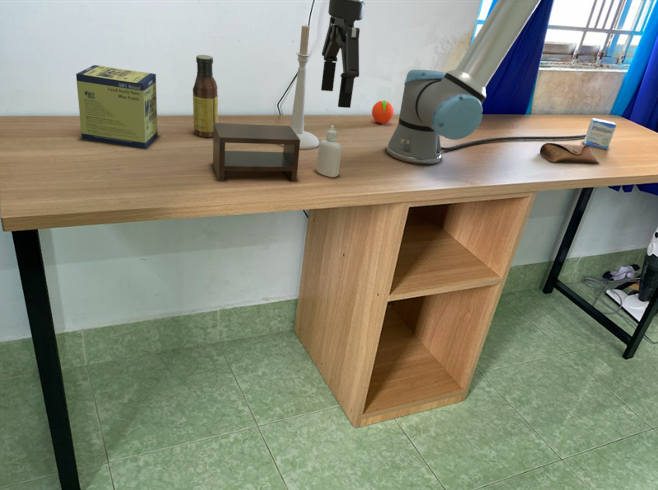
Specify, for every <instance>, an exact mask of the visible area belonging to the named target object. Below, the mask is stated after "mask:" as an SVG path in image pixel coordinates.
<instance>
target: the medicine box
mask: <svg viewBox="0 0 658 490" xmlns="http://www.w3.org/2000/svg"><path fill="white" fill-rule="evenodd" d="M616 127H617V123H616V122H614V121H610V120H605V119H599V118H595V117H591V118H590V122H589V125H588V128H587V131H586V133H585V135H586V136H585V137H584V138H583V139H584V140H583V144H584V145H589V148H597V149H601V150H606V151H608V149H609V147H610V144H611V142H612V139H613V136H614V133H615V130H616Z"/></svg>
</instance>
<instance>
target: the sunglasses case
mask: <svg viewBox="0 0 658 490" xmlns="http://www.w3.org/2000/svg"><path fill="white" fill-rule="evenodd" d="M539 154H540V156H541V157H543V158H544V159H545V160H547V161H549V162H551V163H569V164H586V165H587V164H589V165H590V164H600V162H599V161H598V160H597V157H596V155H594V153H593V151H592V150H591V147H590V146H589V145H585V144H584V145H583V144H570V143H569V144H566V143H556V142H546V143H544V144H542V145H541V147H540V148H539Z"/></svg>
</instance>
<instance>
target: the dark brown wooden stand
mask: <svg viewBox="0 0 658 490" xmlns="http://www.w3.org/2000/svg"><path fill="white" fill-rule="evenodd" d="M226 144H253V145H254V144H255V145H279V144H284V146H283V148H282V149H283V151H252V150H251V151H249V150H248V151H247V150H226ZM299 148H300V139H299V138H298V136H297V135H296V134H295V132H294V131H293V129H292V128H291V125H274V124H251V123H250V124H249V123H248V124H247V123H227V122H221V123H220V122H218V123H213V137H212V166H213V169H214V171H215V174H216V177H217V180H218V181H222V182H223V181H225V171H251V172H252V171H253V172H254V171H255V172H256V171H257V172H259V171H260V172H261V171H262V172H285V173H286V175H287V176H288V178H289V179H290V181H291V182H298V181H297V179H298V169H299V158H300V149H299Z"/></svg>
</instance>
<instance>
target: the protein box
mask: <svg viewBox="0 0 658 490" xmlns="http://www.w3.org/2000/svg"><path fill="white" fill-rule="evenodd" d="M75 75H76V90H77V99H78V100H77V101H78V110H79V121H80V132H81V133H80V135H81V139H82V140H84V141H90V142H98V143H105V144H111V145H117V146H125V147H133V148H138V149H146V148H147V147H148V146H149V145H150V144H152V143H153V141H155V139H157V138H158V137H159V133H158V131H159V129H158V102H157V97H158V96H157V74H156V73H152V72H144V71H137V70H130V69H123V68H118V67H112V66H111V67H110V66H104V65H97V64H93V65H91V66H89V67H88V68H85V69H84V70H81V71H79V72H77V73H76V74H75Z"/></svg>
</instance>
